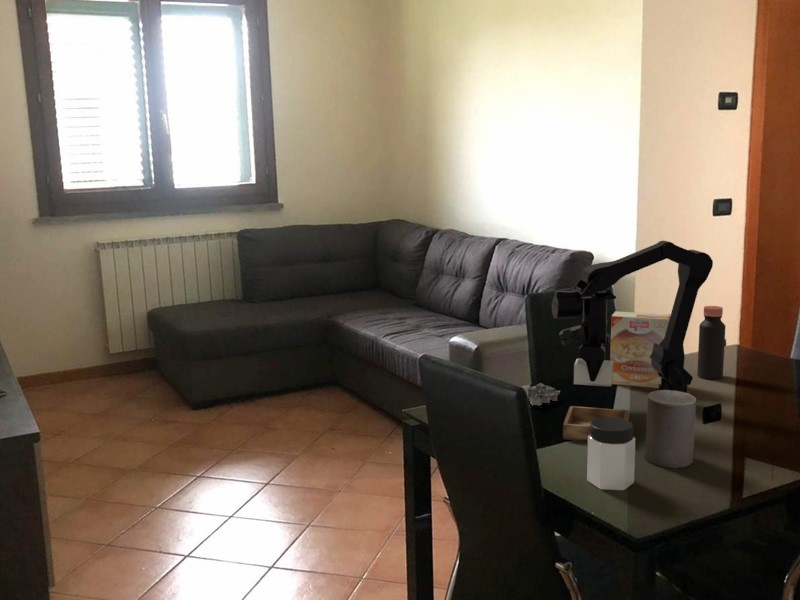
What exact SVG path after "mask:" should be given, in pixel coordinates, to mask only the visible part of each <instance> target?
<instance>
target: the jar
mask: <svg viewBox="0 0 800 600" xmlns="http://www.w3.org/2000/svg"><path fill="white" fill-rule="evenodd" d="M634 427H635V426H634V424H633V422H631V421H629V420H628V421H627V420H624V419H620V418H611V417H605V418H598V419H595V420H593V421H592V422H591V423H590V435H589V436H588V441H587V461H586V462H587V463H586V464H587V468H586V470H587V471H586V475H587V476H586V480H587V482H589V483H590V484H592V485H593V486H595V487H596V488H598V489H599V490H602V491H603V490H604V491H605V490H606V491H608V490H609V491H625V490H626V489H628V488H629V487H630V486H632V485H633V484H634V483H635V462H636V458H635V457H636V438H635V436H634Z"/></svg>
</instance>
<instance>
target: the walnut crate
mask: <svg viewBox="0 0 800 600" xmlns="http://www.w3.org/2000/svg"><path fill="white" fill-rule="evenodd" d="M629 411H630V410H628V409H616V408H615V409H614V408H600V407H587V406H586V407H585V406H577V405H570V406H569V408H568V411H567V413H566V416H565V418H564V421H563V424H562V440H566V441H567V440H568V441H577V442H579V441H580V442H588V436H589V435H590V423H591V422H592V421H593V420H595V419H598V418H605V417H611V418H620V419H624V420H627V421H629Z"/></svg>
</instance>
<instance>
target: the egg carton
mask: <svg viewBox="0 0 800 600" xmlns="http://www.w3.org/2000/svg"><path fill="white" fill-rule="evenodd" d="M525 389H526V391H527V393H528V396H529V395H530V396H529V401H530V404H531V405H532V406H533V405H538V406H540V405H542V403H549V404H550V403H551V402H550V400H552V401H557V402H558V396H559V395H560V392H561V390H557V389H556V387H552V386H549V385H545V384H544V383H542V382H539V383H538V384H536V385H534V386H529V387H527V388H525ZM537 393H538V394H537ZM533 396H534V397H533Z"/></svg>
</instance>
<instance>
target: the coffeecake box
mask: <svg viewBox="0 0 800 600" xmlns="http://www.w3.org/2000/svg"><path fill="white" fill-rule="evenodd" d="M670 316H671V313H670V314H669V313H666V314H665V313H652V312H651V313H649V312H636V311H634V312H633V311H632V312H631V311H616V310H615V311H614V312H613V314H611V323H610V324H611V325H610V355H609V356H610V361H613V381H612V385H616V386H617V385H618V386H630V387H631V386H632V387H639V388H651V389H658V386H659V384H661V377H659V375H658V372H657V371H656V370H655V369H654V368H653V366H652V365H651V358H650V356H651V354H652V351H653V345H654V343H656V344H660V343H661V342H662V340H663V339H664V337H665V334H666V330H667V327H668V323H669V319H670Z"/></svg>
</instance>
